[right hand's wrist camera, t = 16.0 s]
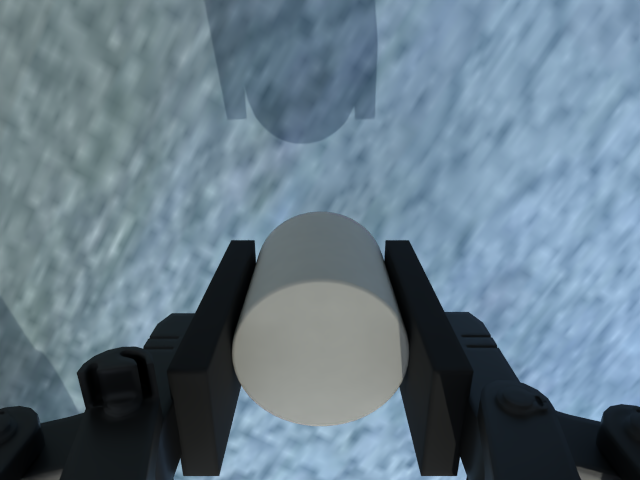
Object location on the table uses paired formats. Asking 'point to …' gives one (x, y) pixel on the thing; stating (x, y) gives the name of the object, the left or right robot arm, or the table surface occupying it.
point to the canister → (320, 324)
